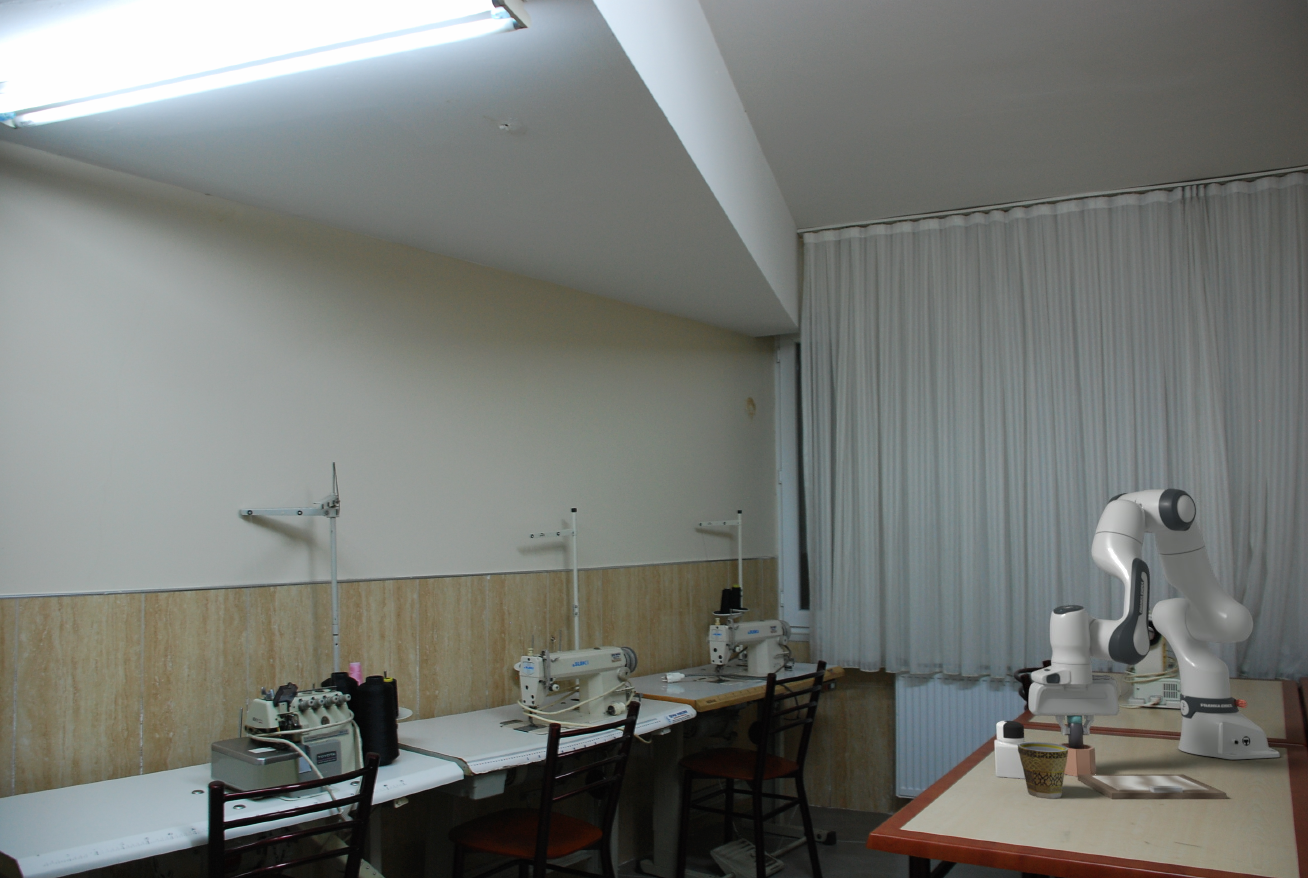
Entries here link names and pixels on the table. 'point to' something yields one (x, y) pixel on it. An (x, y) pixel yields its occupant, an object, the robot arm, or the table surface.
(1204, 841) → the table surface
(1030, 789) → the ceramic cup
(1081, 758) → the pen pot
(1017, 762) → the medicine bottle
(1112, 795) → the brown picture frame
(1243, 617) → the robot arm
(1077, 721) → the marker
